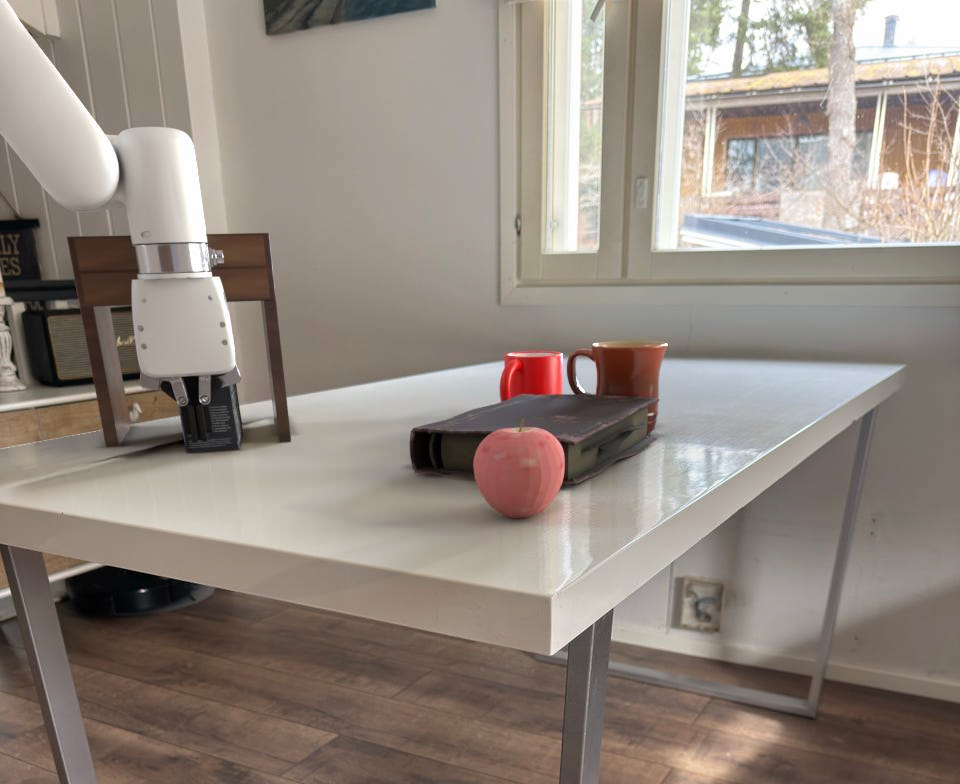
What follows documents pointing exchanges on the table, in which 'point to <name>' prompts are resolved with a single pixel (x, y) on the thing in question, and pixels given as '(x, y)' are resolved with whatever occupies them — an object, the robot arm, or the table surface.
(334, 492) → the table surface
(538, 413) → the diary
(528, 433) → the apple
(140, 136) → the robot arm
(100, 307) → the brown wooden stand
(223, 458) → the table surface
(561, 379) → the mug
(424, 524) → the table surface
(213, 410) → the small box
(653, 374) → the mug
